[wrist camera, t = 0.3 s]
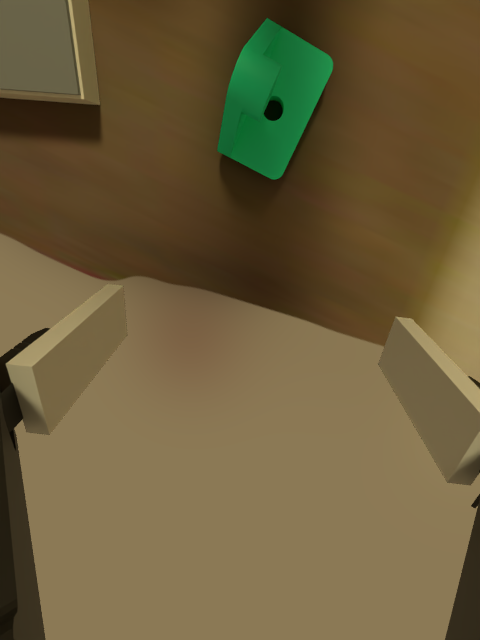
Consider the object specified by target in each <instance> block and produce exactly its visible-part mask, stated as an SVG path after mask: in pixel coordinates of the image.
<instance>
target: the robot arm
mask: <svg viewBox="0 0 480 640" xmlns="http://www.w3.org/2000/svg"><path fill="white" fill-rule="evenodd" d="M126 336H127V325H126V314H125V301H124V288H123V286H121V285H113V284H107V285H106V286H104V287H103V288H102V289H100V290H99V291H98V292H97V293H95V294H94V295H93V296H92V297H90V298H89V299H88V300H86V301H85V302H84V303H83V304H81V305H80V306H79V307H78V308H76V309H75V310H74V311H73V312H71V313H70V314H69V315H67V316H66V317H65V318H63V319H62V320H61V321H60V322H58V323H57V324H56V325H55V326H53V327H52V328H51V329H49V328H45V329H42V330H40V331H37V332H35V333H33V334H31V335H30V336H28V337H27V338H26V339H24V340H23V341H22V343H19V344H18V345H16V346H15V347H14V349H11V350H10V351H8V352H7V353H5V354H4V355H3V356H2V357H0V640H45V633H44V626H43V619H42V612H41V605H40V598H39V592H38V584H37V577H36V571H35V563H34V556H33V549H32V542H31V535H30V528H29V521H28V514H27V508H26V500H25V493H24V486H23V479H22V472H21V466H20V459H19V451H18V444H17V437H16V434H15V430H14V427H16V426H17V424H18V423H19V422H20V421H21V420H22V419H23V422H24V425H25V429H26V432H29V433H37V434H46V435H50V433H51V432H52V431H53V430H54V429H55V427H56V426H57V425H58V423H59V422H60V421H61V420H62V418H63V417H64V416H65V414H66V413H67V412H68V411H69V409H70V407H72V405H73V404H74V403H75V402H76V400H77V399H78V398H79V396H80V395H81V394H82V393H83V391H84V390H85V389H86V387H87V386H88V385H89V384H90V382H91V381H92V380H93V378H94V377H95V376H96V375H97V373H98V372H99V371H100V369H101V368H102V367H103V366H104V364H105V363H106V361H108V359H109V358H110V356H111V355H112V354H113V353H114V352H115V350H116V349H117V348H118V346H119V345H120V344H121V343H122V341H123V340H124V339H125V337H126ZM378 365H379V367H380V368H381V370H382V372H383V373H384V375H385V377H386V378H387V380H388V382H389V384H390V385H391V387H392V388H393V391H394V392H395V394H396V396H397V397H398V399H399V401H400V403H401V404H402V406H403V407H404V409H405V411H406V413H407V415H408V416H409V418H410V419H411V421H412V423H413V425H414V427H415V428H416V430H417V432H418V433H419V435H420V437H421V439H422V440H423V442H424V444H425V445H426V447H427V449H428V451H429V452H430V454H431V456H432V457H433V459H434V461H435V463H436V464H437V466H438V468H439V469H440V471H441V473H442V475H443V476H444V478H445V480H446V481H447V483H456V484H464V485H471V484H472V483H473V481H474V480H475V478H476V477H477V475H478V474H479V473H480V383H479V382H478V381H476V380H475V379H473V378H472V377H470V376H467V375H466V374H465V373H464V372H463V371H462V370H461V369H460V368H459V367H458V366H457V365H456V364H455V363H454V362H453V361H452V360H451V359H450V358H449V357H448V356H447V355H446V354H445V353H444V352H443V351H442V349H441V348H440V347H439V346H438V345H437V344H436V343H435V342H434V341H433V340H432V339H431V338H430V337H429V336H428V335H427V334H426V333H425V332H424V331H423V330H422V329H421V328H420V327H419V326H418V325H417V324H416V323H415V322H414V321H413V320H412V319H409V318H401V317H395V320H394V323H393V325H392V328H391V331H390V333H389V336H388V339H387V342H386V344H385V347H384V350H383V352H382V355H381V358H380V360H379V363H378ZM471 506H472V507H473V508H476V507H477V506H478V509H477V513H476V517H475V521H474V525H473V529H472V533H471V537H470V541H469V545H468V549H467V553H466V557H465V561H464V565H463V569H462V573H461V578H460V582H459V586H458V590H457V594H456V598H455V602H454V606H453V610H452V614H451V618H450V622H449V626H448V630H447V634H446V638H445V640H480V494H479V496H478V497H477V499H476V500H475V501H474V503H473V504H472V505H471Z"/></svg>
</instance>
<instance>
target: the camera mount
mask: <svg viewBox="0 0 480 640" xmlns="http://www.w3.org/2000/svg"><path fill="white" fill-rule="evenodd" d="M332 70H333V61H332V59H331V57H330V56H329V55H328V54H326V53H324V52H323V51H321V50H319V49H318V48H316V47H314V46H313V45H311V44H309V43H308V42H306V41H304V40H303V39H301V38H300V37H298V36H296V35H295V34H293V33H291V32H290V31H288V30H286V29H285V28H283V27H281V26H280V25H278V24H276V23H275V22H273V21H271V20H270V19H268V18H267V19H266V20H265V21H264V22H263V24H262V25H261V26H260V27H259V29H258V30H257V31H256V32H255V34H254V35H253V36H252V37H251V39H250V40H249V41H248V42H247V44H246V45H245V46H244V48H243V49H242V51H241V53H240V56H239V58H238V60H237V63H236V65H235V68H234V71H233V74H232V77H231V80H230V84H229V87H228V91H227V96H226V102H225V108H224V113H223V119H222V125H221V131H220V137H219V143H218V149H217V151H218V152H220V153H222V154H224V155H226V156H228V157H230V158H232V159H234V160H235V161H237V162H239V163H241V164H243V165H245V166H247V167H249V168H251V169H253V170H255V171H257V172H258V173H260V174H262V175H264V176H266V177H268V178H270V179H273V180H275V179H278V178H280V177H281V176H282V175H283V173H284V171H285V169H286V167H287V165H288V163H289V160H290V158H291V156H292V154H293V152H294V150H295V148H296V146H297V144H298V142H299V140H300V137H301V135H302V133H303V131H304V129H305V127H306V125H307V123H308V121H309V119H310V117H311V114H312V112H313V110H314V108H315V106H316V104H317V102H318V100H319V98H320V96H321V94H322V91H323V89H324V87H325V85H326V83H327V81H328V79H329V77H330V75H331V73H332ZM271 100H275V101H278V102H279V103H280V104H281V106H282V111H283V112H282V116H281V117H280V118H279V119H278V120H276V121H270V120H268V119H267V118H266V117H265V116H264V112H265V109H266V107H267V105H268V102H269V101H271Z"/></svg>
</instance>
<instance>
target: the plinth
mask: <svg viewBox="0 0 480 640" xmlns="http://www.w3.org/2000/svg"><path fill="white" fill-rule="evenodd" d="M0 98H11V99H25V100H38V101H52V102H65V103H78V104H92V105H100V99H99V90H98V81H97V72H96V63H95V55H94V46H93V37H92V28H91V19H90V10H89V2H88V0H0Z"/></svg>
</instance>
